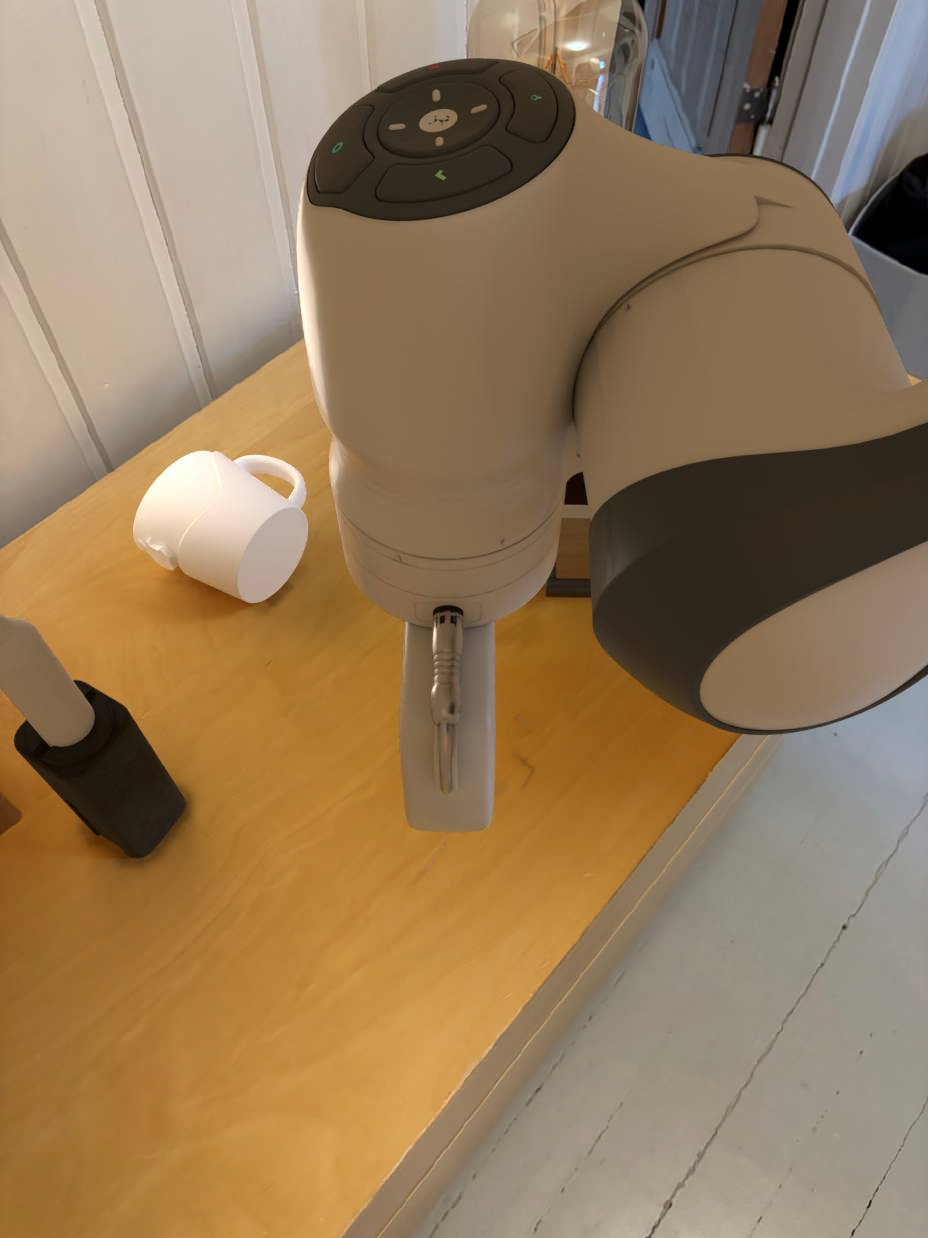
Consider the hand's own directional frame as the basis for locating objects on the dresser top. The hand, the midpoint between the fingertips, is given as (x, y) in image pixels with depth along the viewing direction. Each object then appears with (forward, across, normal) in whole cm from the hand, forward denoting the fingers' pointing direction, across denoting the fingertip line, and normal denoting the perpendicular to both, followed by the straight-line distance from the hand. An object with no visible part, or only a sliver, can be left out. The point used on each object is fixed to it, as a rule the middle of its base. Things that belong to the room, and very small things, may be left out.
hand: (454, 683), depth 49 cm
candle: (+16, -1, +21) cm, 27 cm away
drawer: (+16, +22, -9) cm, 29 cm away
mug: (+17, +21, +17) cm, 32 cm away
